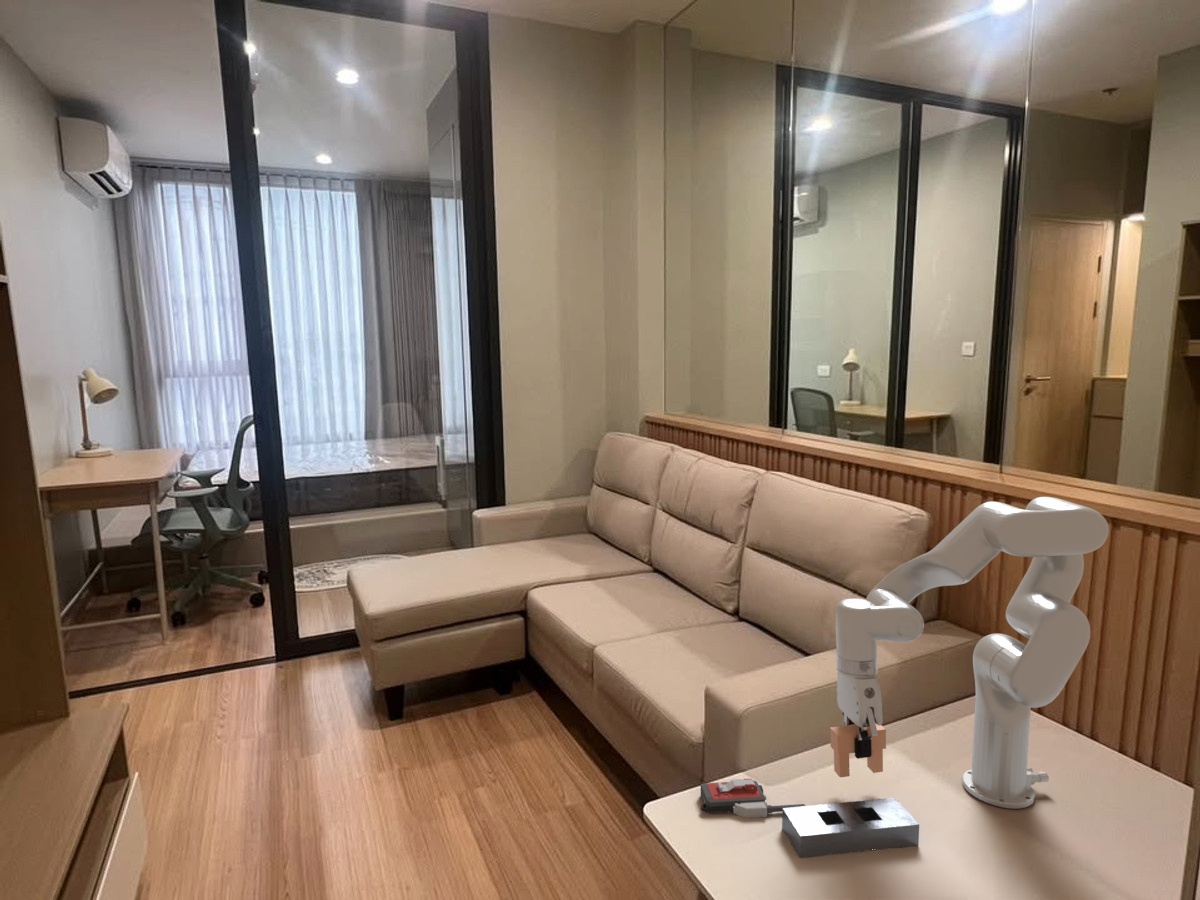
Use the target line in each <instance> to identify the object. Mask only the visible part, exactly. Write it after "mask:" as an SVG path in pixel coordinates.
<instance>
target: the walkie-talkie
mask: <svg viewBox="0 0 1200 900" xmlns="http://www.w3.org/2000/svg"><path fill="white" fill-rule="evenodd" d="M700 799H701V801H702V803H703V804H701V805H700V810H701V811H702V812H705V813H708V814H711V815H714V814H726V813H727V814H728V813H733V814H734V815H737V816H740V817H741V818H744V819H745V818H746V819H749V818H750V819H751V818H752V819H754V818H768V814H772V813H776V812H777V813H780V812H782V810H783V808H790V807H800V806H807V805H806V804H805V803H801V804H800V803H799V804H798V803H797V804H784V805H771V804H769V805H768V803H767V802H766V800H767V796H766V794H764V788H763V785H760V784H759V783H758V781H757V780H754V779H752V778H743V779H742V778H739V779H738V778H737V779H732V780H730V781H723V782H721V781H720V782H719V781H718V782H710V783H709V782H708V783H707V782H705V783H701V784H700Z"/></svg>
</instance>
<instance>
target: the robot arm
mask: <svg viewBox="0 0 1200 900" xmlns="http://www.w3.org/2000/svg"><path fill="white" fill-rule="evenodd" d="M1109 529H1110V528H1109V524H1108V521H1107V519H1106V518H1105V517H1104V515H1102V514H1101V513H1100V512H1099V511H1098V510H1096V509H1093V508H1091V507H1089V506H1084V505H1082V504H1078V503H1074V502H1071V501H1069V500H1065V499H1061V498H1057V497H1054V496H1053V497H1052V496H1039V497H1035V498H1034V499H1032V500H1030V501H1029V503H1027V505H1026V507H1025V509H1022V508H1019V507H1016V506H1013V505H1011V504H1008V503H1004V502H1000V501H987V502H984V503H982V504H980V505H978V506H977V507H976V508H975V509H973V511H971V512H970V513H969V514H968V515H967V516H966V517H965V518H964V519H963V520H962V521H961V522H960V523H959V524H957V526H956V527H955V528H953V529H952V530H951V532H949V533H948V534H947V535H945V537H944V538H943V539H942V540H941V541H940V542H939V543H938V544H937V545H935V546H934V547H933V548H932V549H931V550H929V551H927V552H926V553H923V554H920V555H918V556H917V557H915V558H912V559H911V560H908V561H906V562H904V563H902V564H901V565H898V566H896V567H895V568H894V569H892V570H891V571H890V572H889V573H888V574H887V575H885V576H884V577H883V578H882V579H881V580H880V581H879V582H878V583H877V584H876V585H875V586H874V587H873V588H872V589H871V591H869V593H868V594H867V596H866V598H865V599H864V598H863V599H862V598H858V597H857V598H855V597H854V598H844V599H841V600H840V601H838V602H837V604H836V606H835V641H836V642H835V644H836V647H835V648H836V649H835V650H836V652H835V653H836V671H837V677H836V700H837V707H838V708H839V709H840V711H841V712H842V715H843V726H846V725H854V724H856V736H857V738H855V753H854V757H855V758H856V759H857V760H859V759H864V758H865V759H867V757H871V755H872V749H871V739H872V738H873V736H878V732H877V728H876V724H877V725H879V726H880V725H882V724H883V707H882V696H881V695H882V694H881V687H880V682H879V676H878V675H877V674H878V641H883V642H892V643H903V644H904V643H909V642H913V641H915V640H917V639H918V638H919V637H921V635H922V634H923V632H924V628H925V621H924V618H923V616H922V614H921V613H920V611H919V610H918V609H916V608H915V606H913V605H911V604H910V603H911V602H912V601H913V600H914V599H916V598H917V597H918V596H920V595H921V594H923V593H924V592H927V591H928V590H931V589H934V588H939V587H947V586H949V587H950V586H959V585H963V584H968V583H969V582H970V581H971V580H972V579H973V578H974V577H976V576H977V575H978V574H979V573H980V571H982V570H983V569H984V568H985V567H986V566H987V565H988V564H989V563H990V562H991V561H993V560H994V559H995V557H997V556H998V555H999V554H1000V553H1001V552H1003V553H1005V554H1008V555H1011V556H1014V557H1025V558H1032V560H1031V562H1030V565H1029V566H1028V568H1027V571H1026V572H1025V574H1024V576H1023V578H1022V580H1021V581H1020V583H1019V585H1018V586H1017V588H1016V590H1015V592H1014V594H1013V595H1012V597H1011V598H1010V601H1009V602H1008V605H1007V607H1006V610H1005V619H1006V621H1007V623H1008V624H1009V625H1010V627H1011V628H1012V629H1013V630H1014V631H1016V632H1018V634H1020V635H1022V636H1023V637H1025V638H1026V639H1028V640H1027V643H1026V644H1025V643H1023V642H1022V641H1020V640H1019V639H1017V638H1015V637H1013V636H1011V635H1008V634H1005V633H991V634H988V635H985V636H983V637H982V638H980V639H979V640H978V641H977V643H976V645H975V646H974V650H973V654H972V667H973V674H974V683H975V685H974V686H975V706H974V717H973V739H972V740H973V741H972V755H971V756H972V757H971V759H972V760H971V769H968V770H967V771H965V772H963V774H962V779H961V780H962V782H961V783H962V786H963V787H964V789H965V790H966V791H967V792H968V793H969V794H970V795H971V796H973V797H974V798H976V799H977V800H980V801H982V802H985V803H986V804H990V805H992V806H995V807H999V808H1004V809H1014V810H1015V809H1019V810H1020V809H1025V808H1027V807H1030V806H1032V805H1033V804H1034V802H1035V797H1036V796H1035V791H1034V789H1033V788H1032V785H1035V783H1046V782H1047V783H1048V782H1049V780H1050V779H1049V775H1048V773H1047V772H1046V771H1044V770H1043V771H1034V770H1033V768H1032V766H1029V765H1028V759H1029V745H1030V727H1031V713H1032V709H1031V708H1035V709H1037V708H1042V707H1045V706H1047V705H1049V704H1051V703H1052V702H1053V701H1054V700H1055V699H1056V698H1057V697H1058V696H1059V695H1060V693H1061V692H1062V691H1063V689H1064V687H1065V686H1066V684H1067V682H1068V681H1069V680H1070V678H1071V676H1072V674H1073V673H1074V671H1075V669H1076V667H1077V665H1078V664H1079V662H1080V660H1081V658H1082V657H1083V655H1084V653H1085V651H1086V650H1087V647H1088V645H1089V643H1090V639H1091V624H1090V622H1089V619H1088V618H1087V616H1086V615H1085V613H1084V612H1083V611H1082V610H1081V609H1079V607H1077V606H1075V605H1073V604H1071V601H1072V600H1073V597H1074V595H1075V593H1076V591H1077V589H1078V587H1079V586H1080V583H1081V581H1082V578H1083V575H1084V570H1085V560H1084V559H1085V558H1084V555H1085V554H1086V555H1087V554H1089V553H1092V552H1095V551H1096V550H1098V549H1100V548H1101V547H1102V546H1103V545H1104V544H1105V543H1106V541H1107V539H1108V537H1109V532H1110V531H1109ZM875 723H876V724H875ZM882 726H883V725H882ZM863 727H867V730H863V731H862V732H861V728H863Z"/></svg>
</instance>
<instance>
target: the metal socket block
mask: <svg viewBox="0 0 1200 900" xmlns="http://www.w3.org/2000/svg"><path fill="white" fill-rule="evenodd" d="M781 812H782V815H781V816H782V817H781V820H782V821H781V829H782V831H783V832H784V833H783V834H785V836H786V837H787V839H788V841H789V842H790V844H791V846H792V847H793V848H794V850H795V852H796V853H797V855H798V857H799V858H800V859H802V858H811V857H820V856H829V855H831V854H832V855H839V854H838V853H841V854H850V852H851V853H858V852H857V851H861V852H868V851H867V850H870V851H877V849H880V850H888V848H890V849H898V848H908V847H909V848H910V847H915V846H916V847H917V846H919V844H920V843H919V842H920V840H919V839H920V823H919V822H918V821H917V820H916V819H915V818H914V817H913V816H912V814H910V813H909V811H908V810H907V809H906V808H905V807H904V806H903V805H902V804H901V803H900V802H899V800H897V798H896V797H888V798H887V797H886V798H876V799H865V800H855V801H846V802H845V801H844V802H835V803H834V802H832V803H823V804H814V805H806V806H800V807H790V808H783V810H782V811H781ZM872 849H873V850H872ZM874 849H876V850H874ZM864 850H866V851H864ZM832 855H831V856H832Z"/></svg>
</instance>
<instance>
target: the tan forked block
mask: <svg viewBox="0 0 1200 900" xmlns="http://www.w3.org/2000/svg"><path fill="white" fill-rule="evenodd" d="M875 724H876V723H875ZM876 728H877V732H878V736H873V738H872V739H871V749H872V755H871V757H866V761H867V762H866V763H867V766H866V767H868V769H869V770H870V771H871V772H872V773H873V774H875V773H876V774H877V773H883V771H884V764H883V762H884V760H883V759H884V758H883V757H884V756H883V755H884V754H883V753H884V750H885V749H887V729H886V728H885V727H884V726H883V725H880V726H879V725H877V724H876ZM863 730H867V727H863V728H861V732H862V731H863ZM829 736H830V738H829V739H830V743H829V744H830V747H831V749H832V750H833V765H834V766H833V767H834V768H833V769H834V772H835V773H836V775H837V776H838V777H839V778H847V777H850V754H855V738H857V736H856V724H854V725H846V726H844V725H841V726H840V725H839V726H832V727H829Z"/></svg>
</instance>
